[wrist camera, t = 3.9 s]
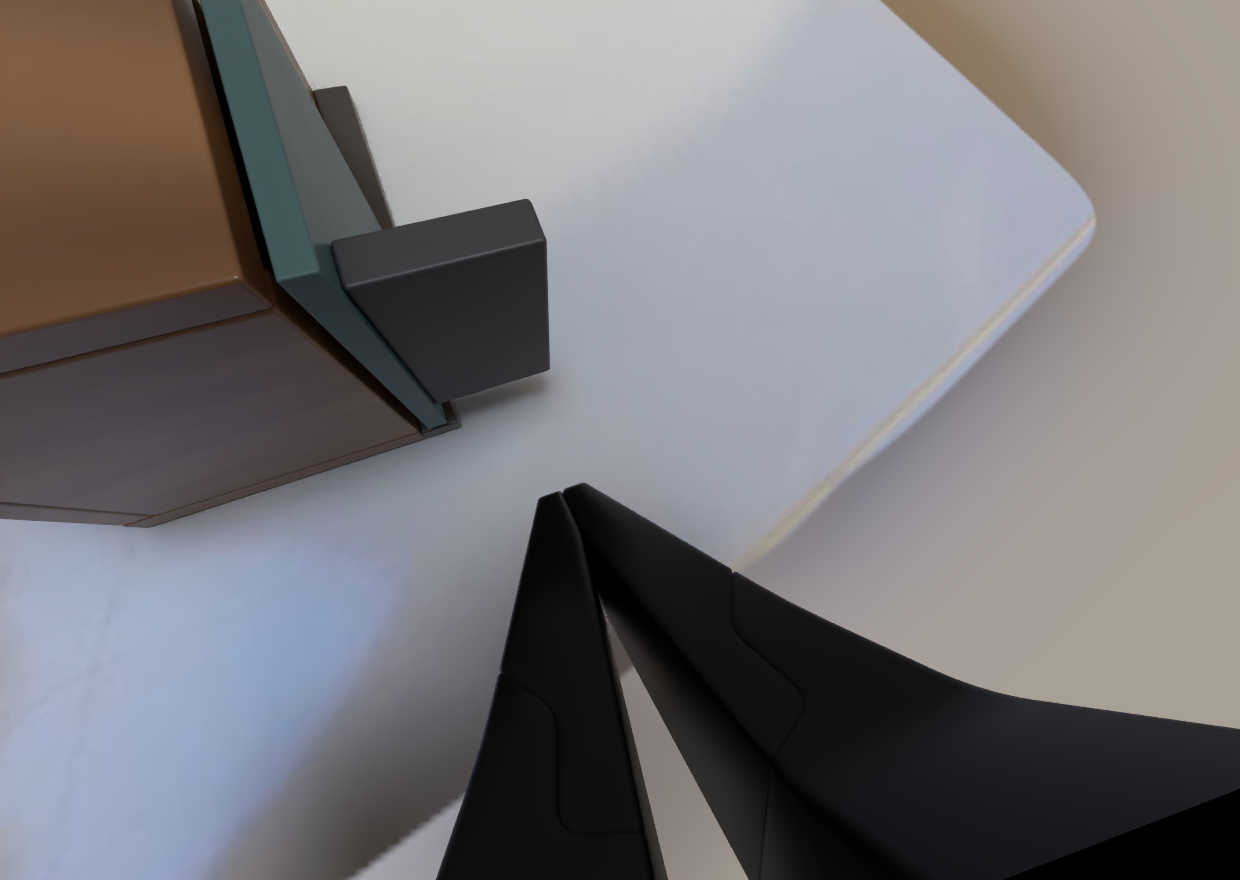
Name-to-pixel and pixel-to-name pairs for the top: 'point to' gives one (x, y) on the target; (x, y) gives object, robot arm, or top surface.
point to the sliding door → (379, 242)
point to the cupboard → (156, 281)
